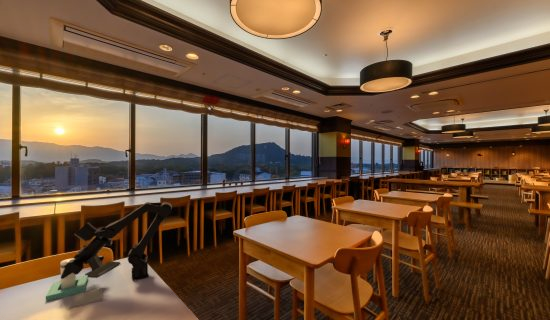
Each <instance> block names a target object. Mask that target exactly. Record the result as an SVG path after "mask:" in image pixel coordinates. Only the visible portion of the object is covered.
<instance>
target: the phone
mask: <svg viewBox="0 0 550 320" xmlns="http://www.w3.org/2000/svg"><path fill="white" fill-rule="evenodd" d="M119 264H120V265H121V262H120V261H110V260H109V261H107V262H105V263H103V264H102V266H101V267H100V268H98V269H96V270H94V271H92V270H90V271H88V272H86V273H84V276H86V275H88V278H89V277H90V278H98V277H100V276H103V275H104V274H105V273H108V272H109V271H111V270H113V269H114V268H116V267H118V266H120V265H119Z"/></svg>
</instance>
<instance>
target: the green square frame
mask: <svg viewBox="0 0 550 320" xmlns="http://www.w3.org/2000/svg"><path fill="white" fill-rule="evenodd" d="M88 278H89V277H88V275H86V276H85V275H82V276H78V277H77V276H76V286H74V287H70V288H66V289H62V290H61V280H60V281H59V280H58V281H56V282H55V281H54V282H52V284H51V285H50V288H49V290H48V292H47V294H46V295H45V302H48V301H52V300H56V299H60V298H64V297H68V296H72V295H75V294H79V293H83V292H86V287H87V283H88Z"/></svg>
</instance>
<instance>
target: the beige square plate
mask: <svg viewBox="0 0 550 320" xmlns="http://www.w3.org/2000/svg"><path fill="white" fill-rule="evenodd" d="M103 291H104V287H100V288H96V289H91V290H88V291H84V292H80V293H76V294H73V296H72V300H71V302H70V306H69V309H74V308H78V307H81V306H85V305H88V304H92V303H96V302H99V301H102V300H103V299H102V297H103Z"/></svg>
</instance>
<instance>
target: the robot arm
mask: <svg viewBox="0 0 550 320" xmlns="http://www.w3.org/2000/svg"><path fill="white" fill-rule="evenodd" d="M172 206H173V205H172V203H170V202H168V201H164V202H149V201H147V202H145V203H144V204H143V205H141V206H140V207H137V208H136V209H134V210H133V211H132V212H130V213H129V214H127V215H126V216H125V217H122V218H120V219H118V220H115V221H114V222H110V223H109V224H108V225H107V226H102V227H98V228H96V227H95V225H92V223H90V222H87V223H86V224H84V225H83V226H82V227H81V228H79V229H78V230H77V231H75V233H74V234H73V235H74V236H76V237H77V238H78V239H80V240H82V241H83V242H89V243H88V244H86V245H85V246H84V247H82V248H81V249H80V250H79V251H78V252H77V253H76V254H75V255H74V256H73V258H74V259H72V260H70V261H69V262H68V263H67V264H66V265H65V266H64V267H65V269H64V271H63V273H62V276H61V275H60V279H61V278H62V279H64V278H65V277H67V276H68V275H70V274H71V273H74V274H76V276H77V275H78V274H80V273H81V272H82V271H83V269H84V268H85V266H84V265H88V266H89V267H90V268H91V271H94V270H96V269H98V268H100V267H101V266H102V265H103V264H104V259H105V256H104V255H98V253H99V252H100V251H101V250H102V249H103V248H104V247H105V246H106V245H107V246H109V247H111V246H112V244H113V238H115V237H116V236H117V235H118V234H119V233H120V232H121V231H122V230H124V228H125V227H127V226H128V225H130V224H131V223H132V222H134V221H136V220H137V219H138V218H140V217H141V216H143V215H145V214H146V213H149V212H151V213H155V214H156V215H155V217H154V219H153V221H152V222H151V223H150V226H149V227H148V228H147V230H146V231H145V234H144V235H143V237H142V238H141V240H140V241H139V242H138V243H137V244H136V243H134V244H133V246H132V248H131V249H129V252H128V254H127V256H128V258H127V262H128V263H129V264H130V265H131V266H132V268H131V279H132V280H133V281H138V280H141V279H145V278H149V265H148V261H147V260H148V255H147V254H146V253H145V250H146V249H147V246H148V244H150V241H151V240H152V238H153V237H154V235H155V233H156V231H157V230H158V228H159V227H160V226H161V224H162V222H163V221H165V219H166V218H168V216H169V215H170V214H171V213H172V210H173V209H172V208H173V207H172Z"/></svg>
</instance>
